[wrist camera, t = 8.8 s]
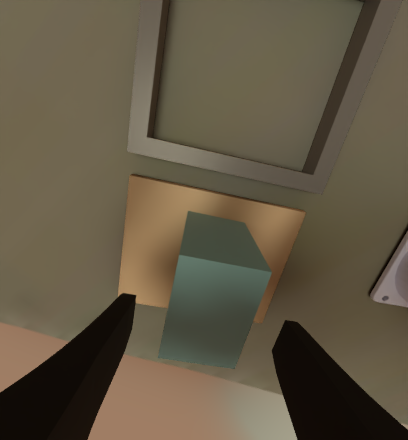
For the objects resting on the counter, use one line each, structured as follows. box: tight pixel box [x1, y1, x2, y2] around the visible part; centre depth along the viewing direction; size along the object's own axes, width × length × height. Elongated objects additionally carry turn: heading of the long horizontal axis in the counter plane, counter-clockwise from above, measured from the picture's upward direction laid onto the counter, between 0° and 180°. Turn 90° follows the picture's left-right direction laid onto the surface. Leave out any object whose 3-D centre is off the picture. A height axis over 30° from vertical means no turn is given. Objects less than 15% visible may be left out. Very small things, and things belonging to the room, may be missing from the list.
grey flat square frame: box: [127, 0, 403, 194], centre depth 11 cm, size 12×11×2 cm
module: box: [158, 211, 272, 369], centre depth 13 cm, size 4×6×6 cm, turn 167°
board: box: [118, 174, 306, 323], centre depth 16 cm, size 12×10×1 cm
